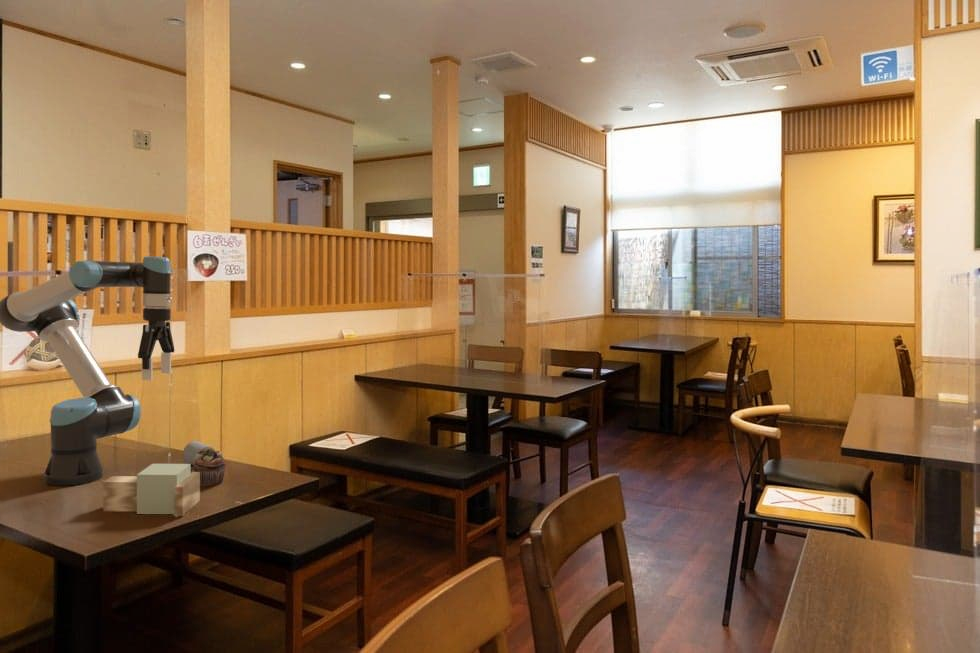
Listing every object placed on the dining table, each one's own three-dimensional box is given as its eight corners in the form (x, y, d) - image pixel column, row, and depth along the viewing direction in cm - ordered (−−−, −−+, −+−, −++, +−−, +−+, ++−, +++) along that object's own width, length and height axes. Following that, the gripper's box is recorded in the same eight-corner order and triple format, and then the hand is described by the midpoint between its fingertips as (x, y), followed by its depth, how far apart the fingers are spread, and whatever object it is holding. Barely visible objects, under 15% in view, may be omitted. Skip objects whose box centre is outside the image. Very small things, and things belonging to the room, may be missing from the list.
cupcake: (232, 479, 204) (232, 447, 203) (212, 489, 195) (212, 455, 194) (205, 476, 206) (205, 444, 205) (184, 485, 197) (184, 452, 196)
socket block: (136, 514, 173) (136, 474, 172) (152, 501, 183) (152, 463, 182) (176, 514, 174) (176, 474, 173) (190, 501, 184) (190, 464, 183)
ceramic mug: (198, 470, 212) (198, 446, 211) (181, 466, 216) (182, 442, 215) (226, 463, 221) (226, 440, 221) (209, 459, 225) (210, 437, 225)
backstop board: (174, 517, 172) (174, 486, 172) (192, 500, 185) (192, 471, 185) (182, 517, 172) (182, 487, 172) (199, 500, 185) (199, 472, 185)
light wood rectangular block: (103, 511, 175) (103, 481, 174) (112, 505, 180) (112, 476, 179) (166, 512, 176) (166, 482, 175) (173, 505, 181) (174, 476, 180)
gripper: (151, 310, 190) (152, 383, 192) (185, 306, 215) (185, 370, 217) (124, 309, 190) (125, 382, 191) (161, 305, 214) (161, 370, 216)
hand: (156, 376), depth 204 cm, fingers open, 13 cm apart
